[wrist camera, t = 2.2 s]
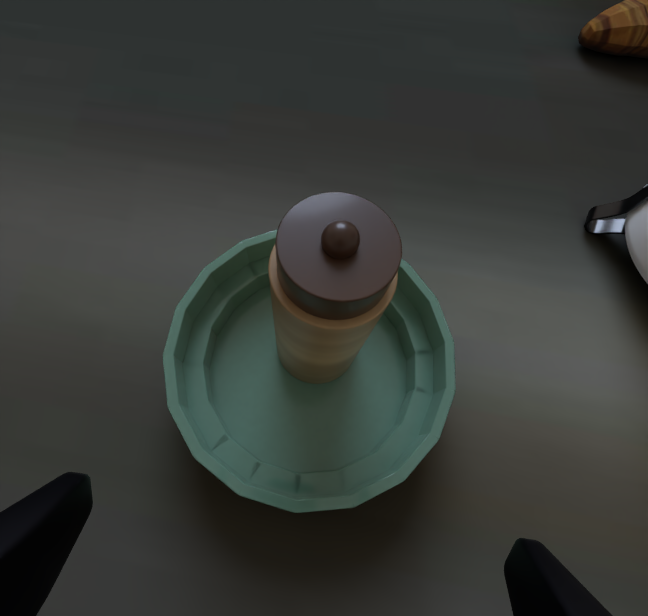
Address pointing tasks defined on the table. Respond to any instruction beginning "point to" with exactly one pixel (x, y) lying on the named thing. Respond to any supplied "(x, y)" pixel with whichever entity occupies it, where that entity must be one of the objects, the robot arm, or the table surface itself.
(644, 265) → the coffee press
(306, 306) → the pepper mill
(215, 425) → the bowl
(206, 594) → the table surface
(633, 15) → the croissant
